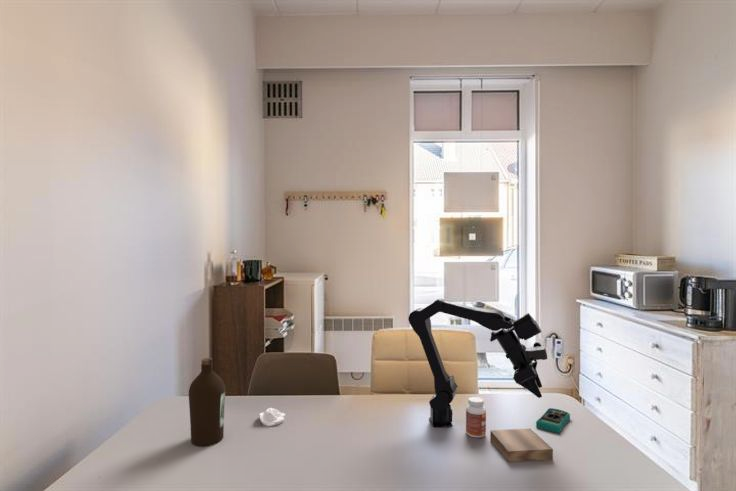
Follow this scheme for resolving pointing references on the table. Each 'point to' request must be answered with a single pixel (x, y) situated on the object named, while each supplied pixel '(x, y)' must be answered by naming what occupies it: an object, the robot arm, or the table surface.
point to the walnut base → (521, 445)
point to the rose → (271, 417)
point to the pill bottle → (476, 418)
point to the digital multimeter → (553, 420)
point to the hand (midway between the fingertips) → (540, 392)
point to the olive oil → (207, 406)
